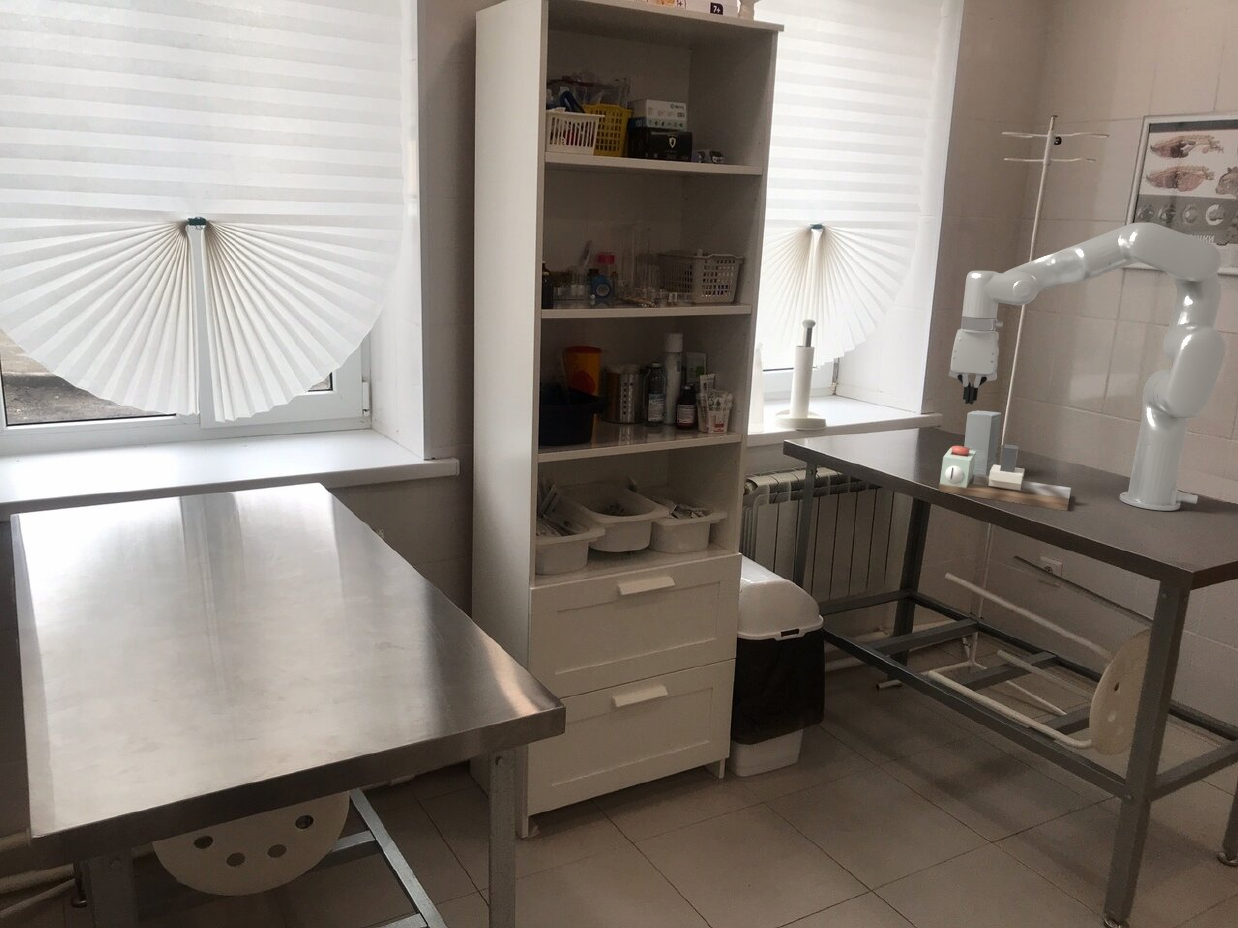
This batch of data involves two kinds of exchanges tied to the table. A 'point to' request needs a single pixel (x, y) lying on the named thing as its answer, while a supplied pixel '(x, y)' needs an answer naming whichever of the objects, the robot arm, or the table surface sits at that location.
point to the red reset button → (960, 450)
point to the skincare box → (983, 439)
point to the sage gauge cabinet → (957, 469)
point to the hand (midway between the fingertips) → (969, 403)
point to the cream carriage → (1007, 470)
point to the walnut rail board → (1015, 493)
